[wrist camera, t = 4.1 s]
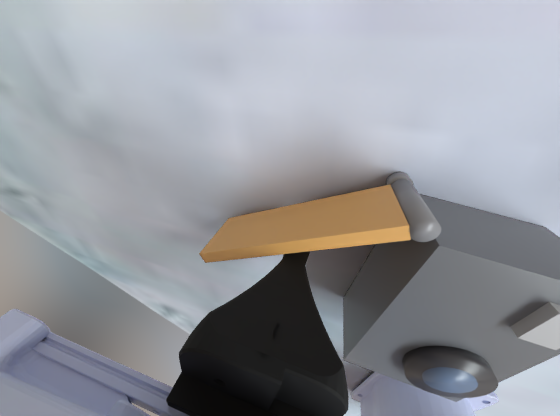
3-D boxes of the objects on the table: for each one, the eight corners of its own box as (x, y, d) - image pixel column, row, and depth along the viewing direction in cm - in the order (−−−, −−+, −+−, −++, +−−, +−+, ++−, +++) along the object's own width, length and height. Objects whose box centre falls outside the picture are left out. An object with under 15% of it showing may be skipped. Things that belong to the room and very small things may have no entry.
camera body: (429, 327, 14) (461, 417, 10) (328, 293, 15) (323, 364, 11) (562, 212, 9) (728, 312, 5) (391, 169, 10) (423, 227, 6)
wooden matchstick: (234, 227, 13) (206, 264, 10) (227, 216, 13) (197, 251, 10) (413, 195, 9) (441, 240, 7) (411, 176, 9) (440, 217, 6)
